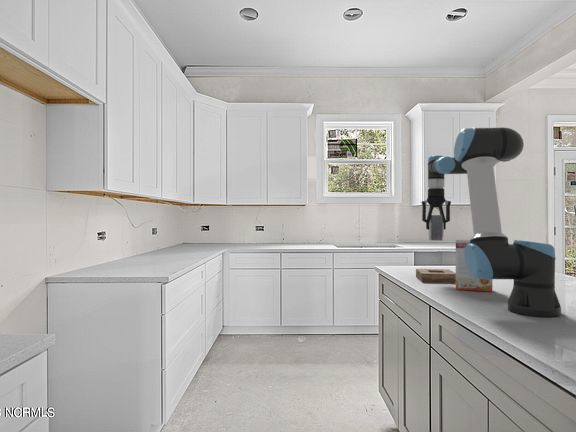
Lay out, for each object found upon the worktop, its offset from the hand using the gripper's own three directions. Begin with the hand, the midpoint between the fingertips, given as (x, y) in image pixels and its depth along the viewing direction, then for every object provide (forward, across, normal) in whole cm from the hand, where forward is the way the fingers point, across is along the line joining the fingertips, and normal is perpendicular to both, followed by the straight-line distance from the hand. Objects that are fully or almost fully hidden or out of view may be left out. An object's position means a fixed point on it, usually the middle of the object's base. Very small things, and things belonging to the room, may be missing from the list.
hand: (435, 236), depth 195 cm
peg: (+2, 0, 0) cm, 2 cm away
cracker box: (+21, -10, +24) cm, 33 cm away
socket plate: (+21, 0, 0) cm, 21 cm away
